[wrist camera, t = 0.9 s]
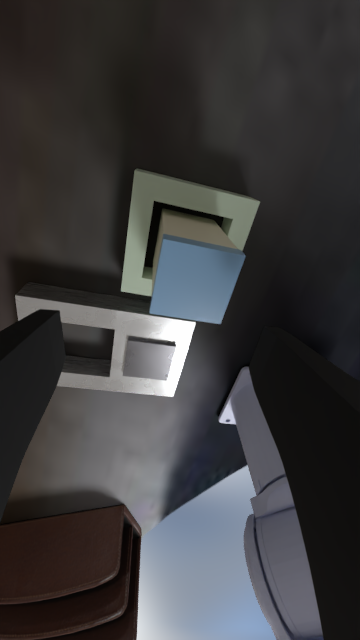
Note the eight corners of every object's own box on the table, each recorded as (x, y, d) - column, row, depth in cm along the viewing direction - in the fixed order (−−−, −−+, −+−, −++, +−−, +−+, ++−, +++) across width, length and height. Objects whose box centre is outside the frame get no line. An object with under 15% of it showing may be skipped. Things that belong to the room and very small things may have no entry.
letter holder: (142, 527, 43) (136, 668, 31) (28, 545, 44) (-20, 690, 32) (125, 502, 38) (110, 661, 26) (-5, 523, 38) (-77, 688, 27)
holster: (249, 196, 16) (260, 201, 14) (216, 294, 20) (222, 307, 18) (137, 168, 15) (134, 170, 13) (124, 278, 18) (120, 291, 17)
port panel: (192, 308, 20) (196, 324, 18) (172, 380, 24) (173, 399, 22) (28, 281, 18) (12, 297, 16) (36, 365, 22) (24, 385, 20)
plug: (214, 219, 17) (245, 255, 11) (200, 269, 19) (220, 324, 13) (161, 206, 16) (163, 238, 10) (152, 260, 18) (149, 313, 12)
